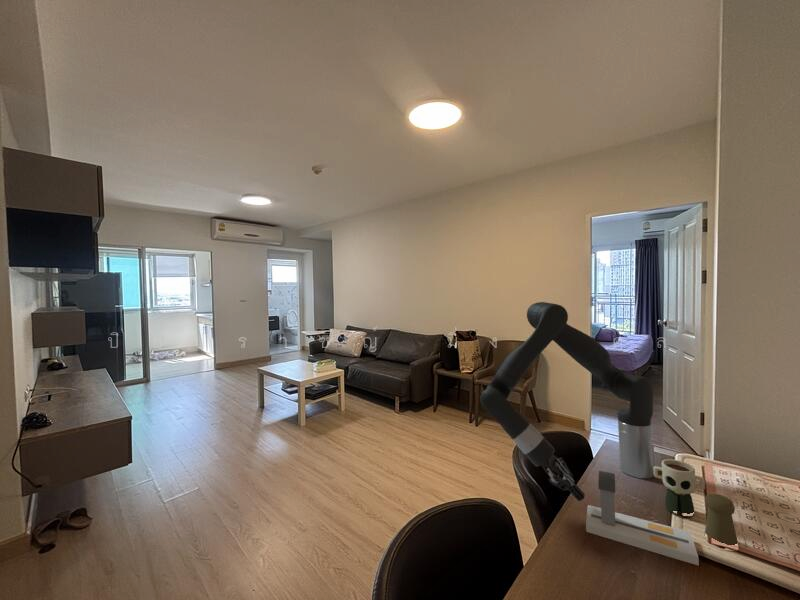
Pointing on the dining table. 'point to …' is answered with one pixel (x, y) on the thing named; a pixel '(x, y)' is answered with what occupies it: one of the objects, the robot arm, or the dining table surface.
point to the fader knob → (607, 496)
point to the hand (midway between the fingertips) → (582, 498)
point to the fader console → (644, 535)
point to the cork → (720, 519)
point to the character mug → (679, 484)
